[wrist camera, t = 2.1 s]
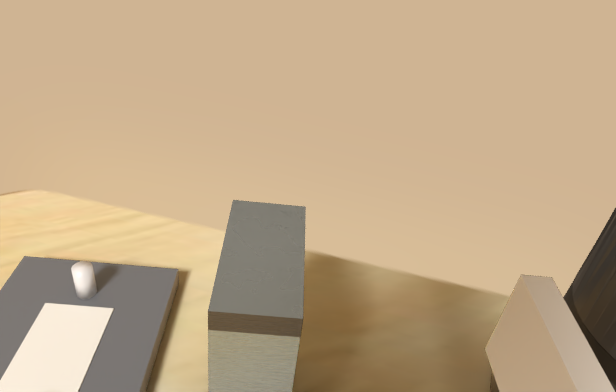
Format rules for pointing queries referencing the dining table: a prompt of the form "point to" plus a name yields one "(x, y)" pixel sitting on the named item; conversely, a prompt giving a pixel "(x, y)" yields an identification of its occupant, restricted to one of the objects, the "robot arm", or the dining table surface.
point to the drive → (257, 300)
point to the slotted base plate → (82, 325)
